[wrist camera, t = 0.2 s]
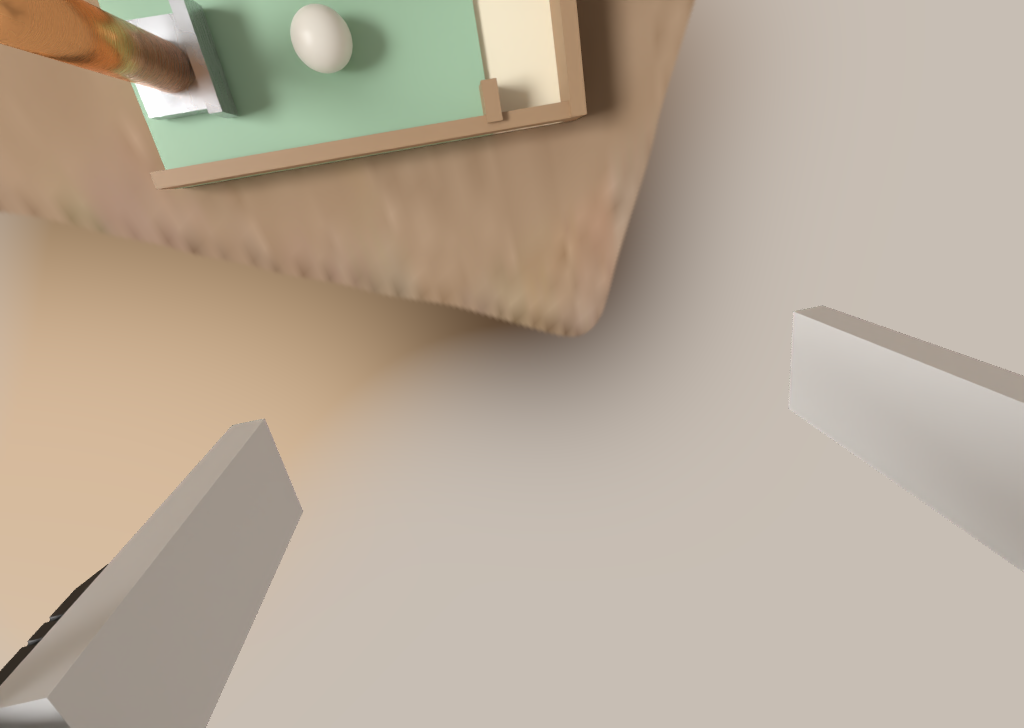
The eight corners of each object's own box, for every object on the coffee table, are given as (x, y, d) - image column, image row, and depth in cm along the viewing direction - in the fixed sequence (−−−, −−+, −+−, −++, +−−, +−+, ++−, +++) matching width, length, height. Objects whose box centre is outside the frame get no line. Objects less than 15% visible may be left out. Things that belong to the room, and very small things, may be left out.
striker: (120, 18, 29) (-125, -98, 17) (201, 6, 29) (18, -119, 17) (163, 128, 31) (-25, 97, 19) (238, 116, 31) (100, 76, 19)
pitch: (92, -40, 29) (43, -70, 26) (550, -110, 30) (562, -146, 27) (182, 188, 34) (151, 189, 30) (573, 120, 35) (586, 114, 32)
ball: (292, 19, 30) (272, -1, 27) (348, 10, 30) (335, -11, 27) (310, 82, 31) (293, 71, 28) (363, 73, 32) (353, 61, 28)
